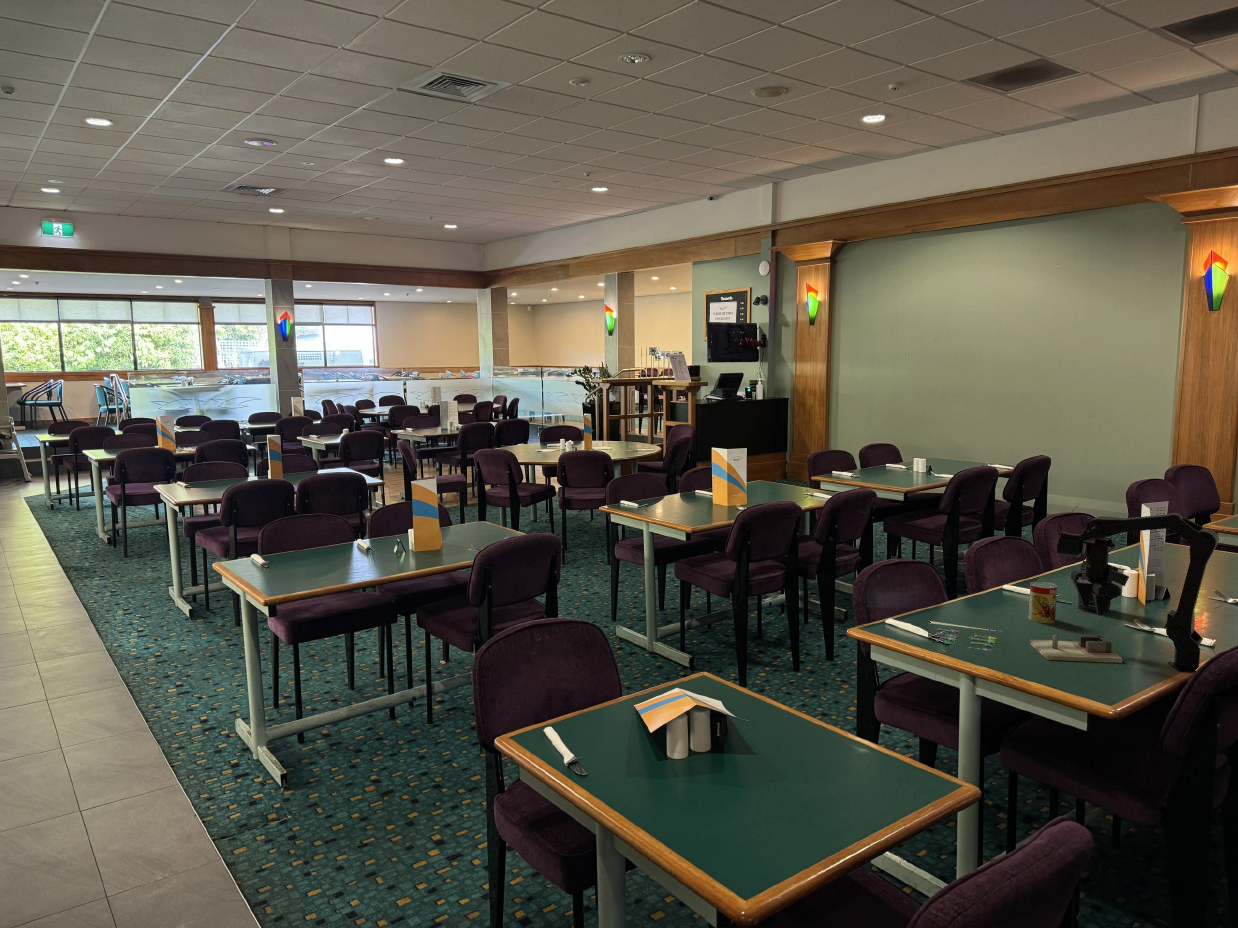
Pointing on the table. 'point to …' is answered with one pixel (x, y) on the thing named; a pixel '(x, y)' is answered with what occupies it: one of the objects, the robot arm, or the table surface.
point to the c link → (1095, 644)
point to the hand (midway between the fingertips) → (1093, 610)
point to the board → (1070, 651)
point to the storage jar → (1090, 602)
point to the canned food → (1042, 602)
